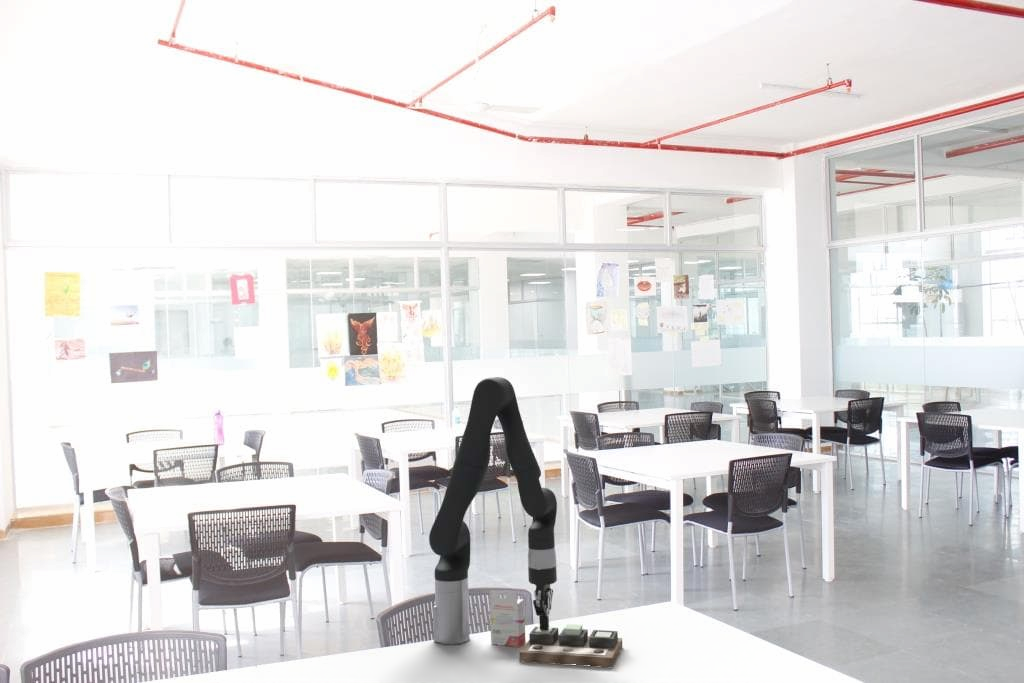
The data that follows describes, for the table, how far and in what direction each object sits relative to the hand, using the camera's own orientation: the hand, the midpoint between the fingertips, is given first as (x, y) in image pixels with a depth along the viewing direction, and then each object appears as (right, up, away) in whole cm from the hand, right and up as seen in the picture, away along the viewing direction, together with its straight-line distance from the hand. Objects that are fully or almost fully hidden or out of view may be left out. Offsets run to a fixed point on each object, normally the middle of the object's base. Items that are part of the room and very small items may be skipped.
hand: (544, 629), depth 248 cm
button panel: (+7, -5, -5) cm, 10 cm away
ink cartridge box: (-10, -6, +6) cm, 13 cm away
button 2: (+15, -2, -4) cm, 16 cm away
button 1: (0, -2, 0) cm, 2 cm away
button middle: (+8, -1, -2) cm, 8 cm away
